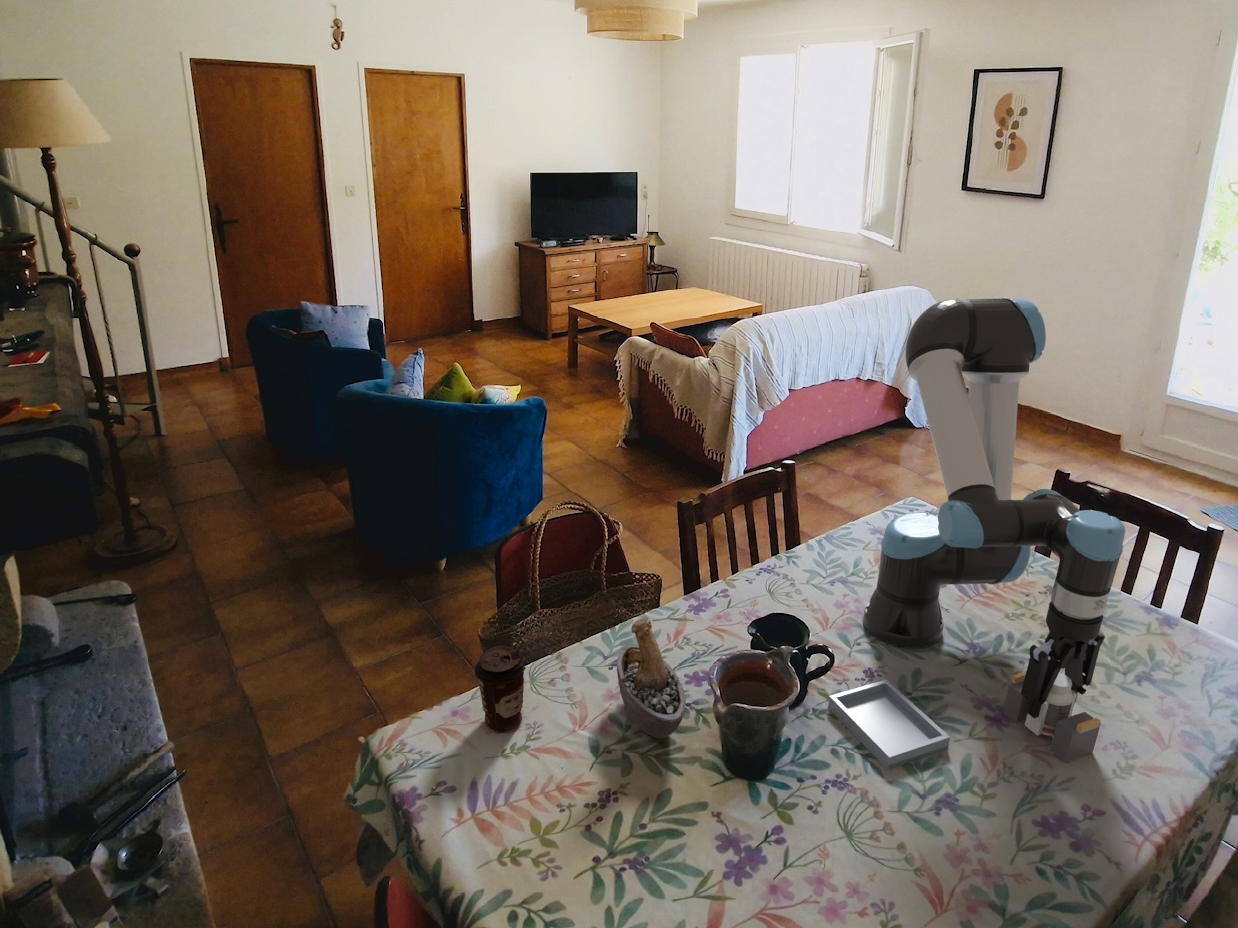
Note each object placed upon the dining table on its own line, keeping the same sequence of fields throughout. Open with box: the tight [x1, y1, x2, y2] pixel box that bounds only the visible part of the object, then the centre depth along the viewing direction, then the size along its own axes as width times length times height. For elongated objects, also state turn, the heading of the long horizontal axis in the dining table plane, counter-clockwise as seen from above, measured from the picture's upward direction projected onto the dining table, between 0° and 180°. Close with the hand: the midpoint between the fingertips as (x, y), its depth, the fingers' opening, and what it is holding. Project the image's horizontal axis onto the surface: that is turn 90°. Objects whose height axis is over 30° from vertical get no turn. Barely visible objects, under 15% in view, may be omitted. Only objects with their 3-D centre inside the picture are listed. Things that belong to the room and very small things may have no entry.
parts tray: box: [827, 678, 951, 771], centre depth 141 cm, size 16×12×2 cm
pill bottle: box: [1041, 672, 1073, 737], centre depth 139 cm, size 5×5×10 cm
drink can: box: [473, 645, 527, 734], centre depth 141 cm, size 9×8×13 cm
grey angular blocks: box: [1002, 670, 1102, 764], centre depth 139 cm, size 14×6×7 cm, turn 22°
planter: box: [616, 618, 687, 739], centre depth 140 cm, size 15×17×20 cm
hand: (1046, 724), depth 140 cm, fingers closed on pill bottle, 5 cm apart
